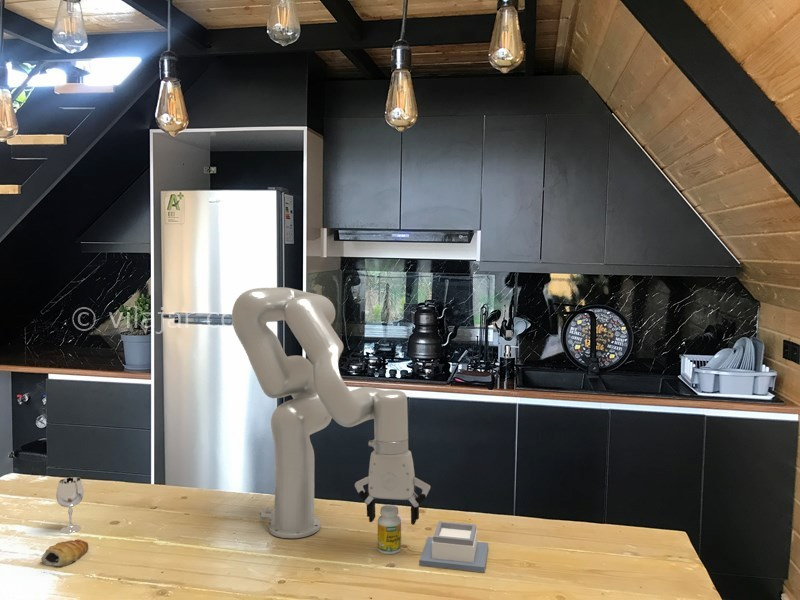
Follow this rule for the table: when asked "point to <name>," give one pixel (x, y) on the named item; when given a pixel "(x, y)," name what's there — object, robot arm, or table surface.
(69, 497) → the wineglass
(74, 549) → the pastry
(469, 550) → the display stand
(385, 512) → the supplement bottle
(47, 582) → the table surface
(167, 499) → the table surface
